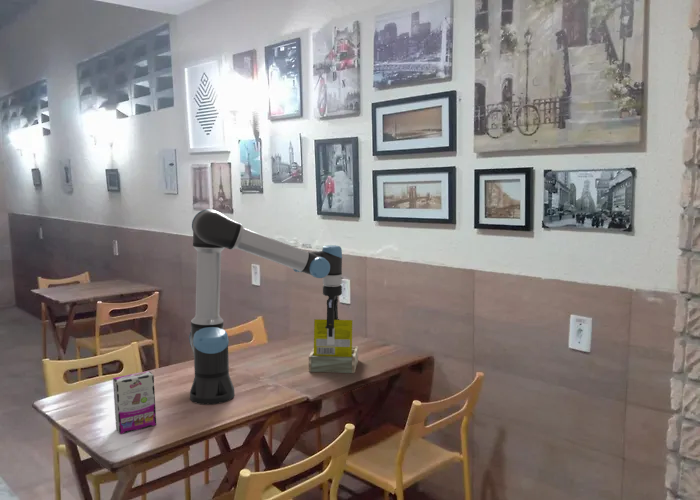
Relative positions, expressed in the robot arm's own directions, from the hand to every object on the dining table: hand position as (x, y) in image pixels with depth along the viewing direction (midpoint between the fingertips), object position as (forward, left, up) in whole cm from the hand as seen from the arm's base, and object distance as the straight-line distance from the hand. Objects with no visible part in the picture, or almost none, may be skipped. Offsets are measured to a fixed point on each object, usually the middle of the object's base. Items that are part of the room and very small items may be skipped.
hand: (332, 340), depth 233 cm
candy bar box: (-60, +53, -12) cm, 81 cm away
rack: (+5, 0, -12) cm, 13 cm away
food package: (0, 0, -12) cm, 12 cm away
